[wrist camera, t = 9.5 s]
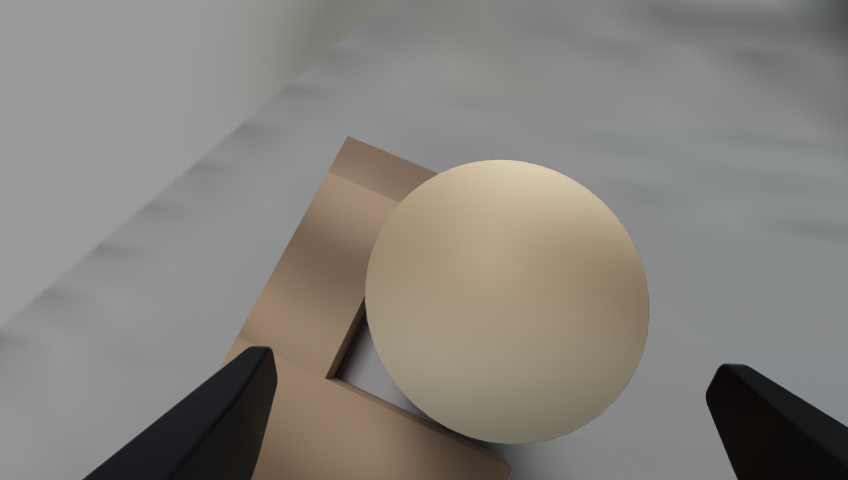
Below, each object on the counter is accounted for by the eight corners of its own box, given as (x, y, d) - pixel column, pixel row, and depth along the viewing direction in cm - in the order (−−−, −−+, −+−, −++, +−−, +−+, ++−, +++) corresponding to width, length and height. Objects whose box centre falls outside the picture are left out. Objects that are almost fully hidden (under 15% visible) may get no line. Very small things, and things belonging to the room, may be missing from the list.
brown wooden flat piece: (403, 728, 16) (401, 780, 14) (127, 575, 17) (90, 603, 15) (576, 249, 21) (592, 237, 19) (353, 155, 22) (348, 135, 20)
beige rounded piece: (513, 383, 19) (680, 428, 7) (401, 393, 19) (372, 459, 7) (498, 273, 20) (617, 150, 8) (393, 282, 20) (358, 170, 8)
